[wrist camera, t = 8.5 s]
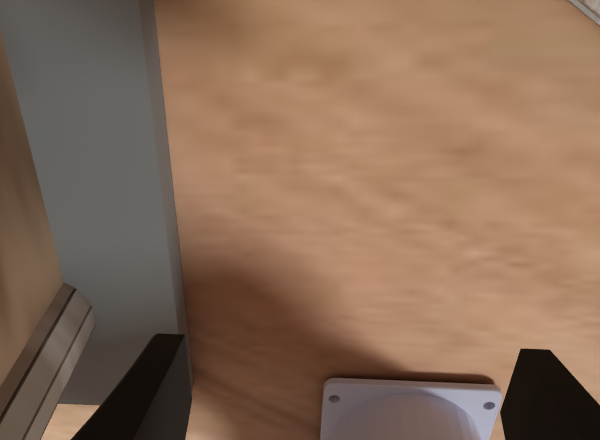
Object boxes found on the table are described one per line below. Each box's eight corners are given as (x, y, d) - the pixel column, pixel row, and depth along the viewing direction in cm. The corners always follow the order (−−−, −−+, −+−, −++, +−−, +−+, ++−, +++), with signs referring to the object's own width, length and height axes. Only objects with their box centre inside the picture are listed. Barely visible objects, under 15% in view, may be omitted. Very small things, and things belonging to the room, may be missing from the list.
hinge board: (193, 382, 26) (172, 470, 23) (-21, 373, 27) (-78, 459, 23) (149, -40, 17) (98, -10, 13) (-187, -52, 17) (-334, -25, 13)
